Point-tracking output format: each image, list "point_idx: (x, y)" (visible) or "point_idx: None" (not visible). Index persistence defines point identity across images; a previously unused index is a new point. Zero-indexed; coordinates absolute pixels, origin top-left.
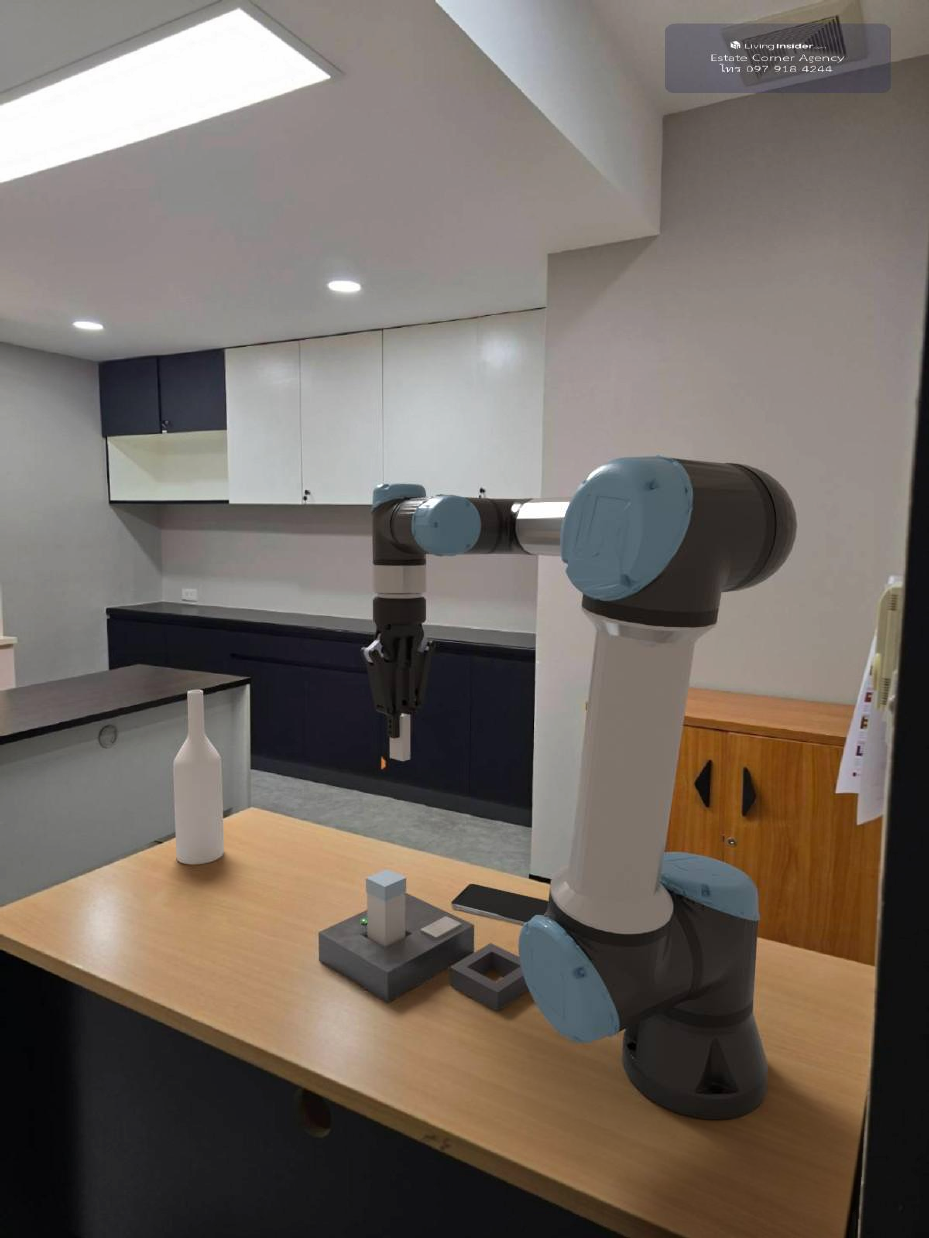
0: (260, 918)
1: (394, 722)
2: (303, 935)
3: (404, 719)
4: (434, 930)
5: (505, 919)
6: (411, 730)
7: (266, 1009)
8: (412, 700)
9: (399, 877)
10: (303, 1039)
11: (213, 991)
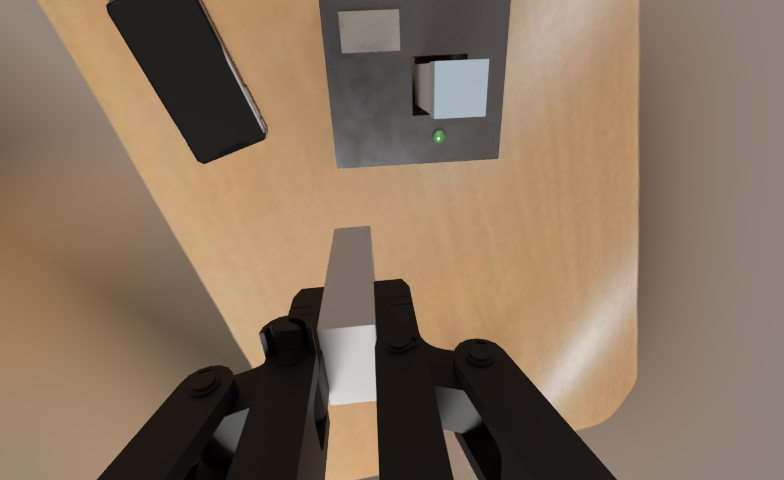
0: (471, 274)
1: (411, 321)
2: (462, 210)
3: (360, 314)
4: (386, 28)
5: (220, 40)
6: (300, 298)
7: (590, 104)
8: (277, 399)
9: (443, 71)
10: (607, 18)
11: (598, 177)
